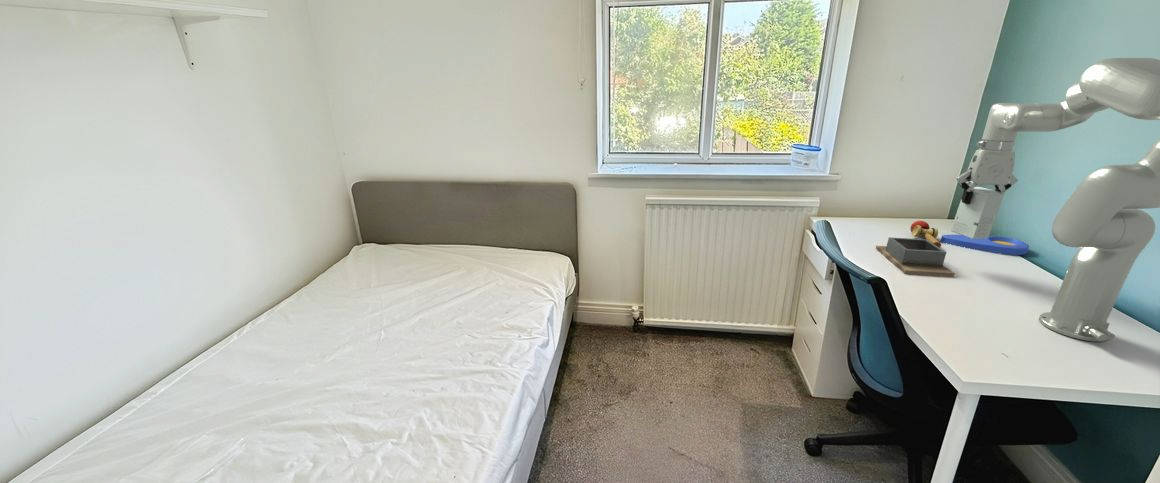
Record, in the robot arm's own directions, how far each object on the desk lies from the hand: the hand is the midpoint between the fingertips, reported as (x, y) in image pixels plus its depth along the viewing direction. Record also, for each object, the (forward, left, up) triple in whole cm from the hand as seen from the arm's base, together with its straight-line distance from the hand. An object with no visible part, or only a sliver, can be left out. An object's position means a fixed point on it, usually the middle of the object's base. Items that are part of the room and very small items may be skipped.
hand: (979, 203), depth 145 cm
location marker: (+23, -19, -22) cm, 37 cm away
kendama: (+26, -2, -22) cm, 34 cm away
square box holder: (+2, +13, -22) cm, 25 cm away
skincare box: (0, 0, -11) cm, 11 cm away
